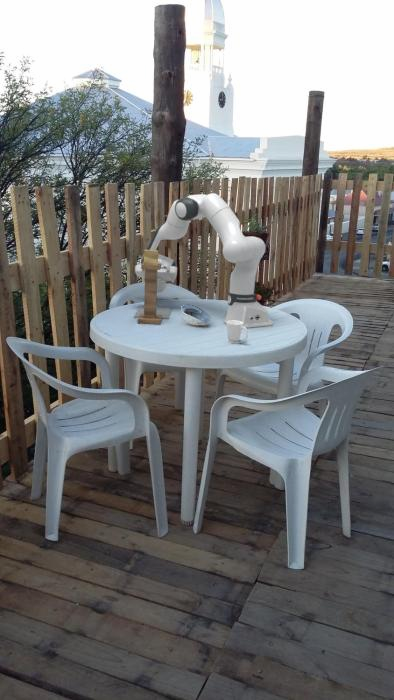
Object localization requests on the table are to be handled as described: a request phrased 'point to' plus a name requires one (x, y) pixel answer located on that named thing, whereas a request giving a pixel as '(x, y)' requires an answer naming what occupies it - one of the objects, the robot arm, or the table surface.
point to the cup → (235, 331)
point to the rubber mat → (159, 311)
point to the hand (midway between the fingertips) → (155, 265)
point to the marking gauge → (151, 257)
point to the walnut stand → (150, 296)
